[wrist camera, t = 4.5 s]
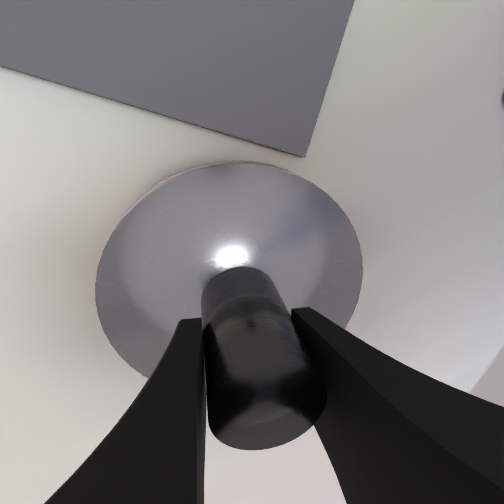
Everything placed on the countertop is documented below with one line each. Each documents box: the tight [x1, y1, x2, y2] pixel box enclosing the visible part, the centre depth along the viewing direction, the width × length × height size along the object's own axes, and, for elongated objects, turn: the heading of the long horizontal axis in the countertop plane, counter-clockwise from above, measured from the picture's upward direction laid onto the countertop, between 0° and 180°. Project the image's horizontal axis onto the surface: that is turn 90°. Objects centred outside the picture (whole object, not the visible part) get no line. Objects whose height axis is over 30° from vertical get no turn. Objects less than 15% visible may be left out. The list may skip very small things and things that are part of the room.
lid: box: [95, 161, 363, 450], centre depth 9 cm, size 10×10×5 cm
